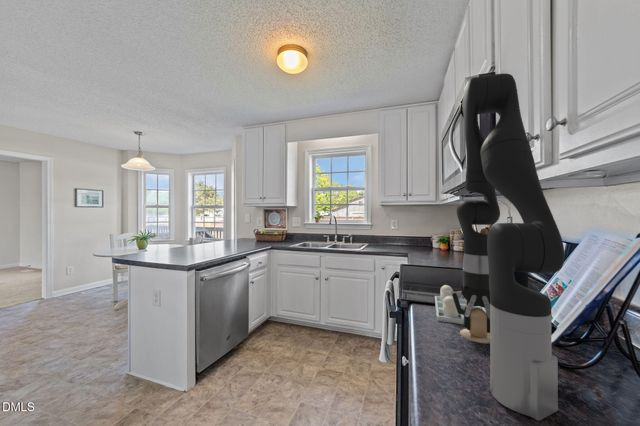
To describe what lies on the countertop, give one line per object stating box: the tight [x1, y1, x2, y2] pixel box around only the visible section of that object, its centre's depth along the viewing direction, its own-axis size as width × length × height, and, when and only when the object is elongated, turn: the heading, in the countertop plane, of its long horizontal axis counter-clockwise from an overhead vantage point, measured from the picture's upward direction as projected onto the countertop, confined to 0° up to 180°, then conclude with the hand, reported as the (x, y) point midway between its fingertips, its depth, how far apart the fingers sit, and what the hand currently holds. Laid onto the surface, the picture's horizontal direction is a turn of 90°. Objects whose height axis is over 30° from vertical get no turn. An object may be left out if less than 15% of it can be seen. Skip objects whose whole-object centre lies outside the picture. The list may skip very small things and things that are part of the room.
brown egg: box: [469, 308, 487, 337], centre depth 75 cm, size 4×4×7 cm
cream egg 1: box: [439, 284, 454, 302], centre depth 102 cm, size 4×4×7 cm
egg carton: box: [434, 295, 486, 325], centre depth 93 cm, size 23×16×2 cm
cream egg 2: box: [442, 296, 459, 318], centre depth 88 cm, size 4×4×7 cm
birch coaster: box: [459, 328, 490, 344], centre depth 75 cm, size 9×9×1 cm
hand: (478, 330), depth 74 cm, fingers closed on brown egg, 4 cm apart
